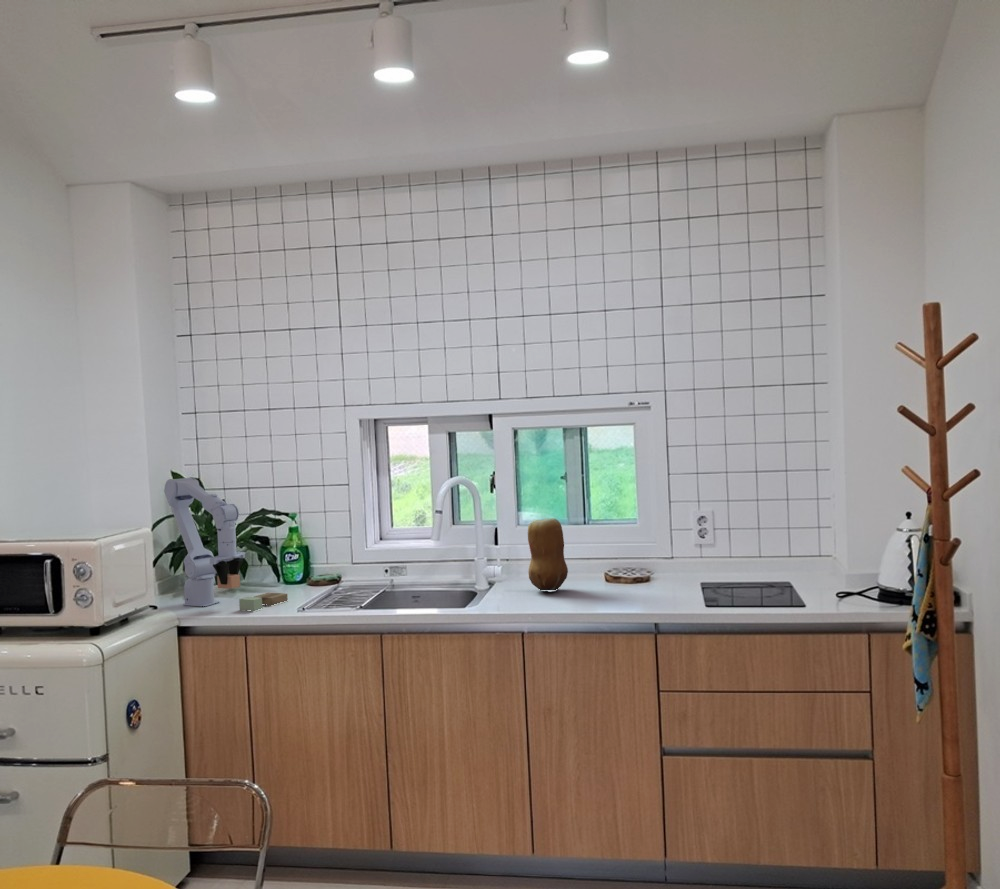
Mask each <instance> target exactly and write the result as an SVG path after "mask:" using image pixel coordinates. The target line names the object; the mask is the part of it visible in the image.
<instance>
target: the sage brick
mask: <svg viewBox="0 0 1000 889" xmlns="http://www.w3.org/2000/svg"><path fill="white" fill-rule="evenodd" d="M238 601H239V602H238V603H239V604H238V606H239V611H240V610H251V611H255V610H258V609H261V608H262V609H263V605H262V598H259V597H254V596H245V597H243V598H239V599H238Z"/></svg>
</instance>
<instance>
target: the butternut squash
mask: <svg viewBox="0 0 1000 889" xmlns="http://www.w3.org/2000/svg"><path fill="white" fill-rule="evenodd" d="M564 541H565V540H564V531H563V527H562V525H561V523H560V521H559V520H558V519H556V518H544V519H535V520H533V521H531V522H530V523H529V524H528V526H527V542H528V547H529V551H530V556H531V557H530V562H529V567H528V579H529V581H530V582H531V584H532V585H533V586H534V587H535V588H537V589H538V590H539V589H540V590H539V591H541V590H556V589H558V588H559V587H560V588H561V586H562V585H563V583H564V582H565V581H566V579H567V578H568V572H569V568H568V564H567V563H566V560H565V554H564V552H565V542H564ZM560 588H559V589H560ZM559 589H558V590H559Z"/></svg>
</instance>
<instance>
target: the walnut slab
mask: <svg viewBox="0 0 1000 889" xmlns="http://www.w3.org/2000/svg"><path fill="white" fill-rule="evenodd" d="M253 597H259V598H262V604H267V605H274V604H277V603H280V602H284V601H287V600H288V593H284V592H282V593H281V592H280V593H279V592H265V593H262V594H258V595H255V596H253ZM287 602H288V601H287ZM284 603H285V602H284ZM274 606H275V605H274Z"/></svg>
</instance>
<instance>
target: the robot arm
mask: <svg viewBox="0 0 1000 889" xmlns="http://www.w3.org/2000/svg"><path fill="white" fill-rule="evenodd" d="M163 492H164V494H165V495H164V496H165V498H166V500H167V503H168V505H169V506H170V507H171V512H172V513H173V516H174V520H175V522H176V525H177V528H178V530H179V533H180V534H181V538H182V540H183V543H184V546H185V548H186V550H187V555H185V557H184V558H183V565H184V572H185V574H186V576H187V577H188V578H187V579H186V580H185V583H184V586H183V592H184V603H182V604H183V606H190V607H191V606H192V607H202V606H203V607H204V606H205V607H208V606H212V605H215V603H216V604H219V603H221V600H215V586H214V585H215V584H214V578H215V577H216V574H217V576H219V579H220V583H221V584H227V579H228V574H237V575H239V573H240V569H241V566H242V565H243V563H244V560H243V559H245V558H246V552H245V551H238V552H237V534H236V533H237V532H236V521H238V519H239V516H240V515H239V512H240V511H239V509H238V507H237V506H236V505H235V504H234V503H230V504H229V503H227V502H226V501H225V500H222V499H221V498H220V497H219V496H218V494H216V493H211V494H210V493H208V492H207V490H205V489H204V488H203V487H202V486H201V485H200V482H199V480H198V479H196V478H195V477H194V476H192V477H191V476H190V477H184V478H174V479H173V478H168V479H167V480H166V482H165V485H164V489H163ZM194 499H196V500H197V501H198V502H200V503H201V506H202V508H203V509H204V510H205V511H207V513H209V514H211V515H212V519H213V521H214V524H215V528H216V531H217V551H218V555H216V556H214V554H213V552H212V551H211V550H210V549H208V548H206V547H204V545H203V542H202V538H201V537H200V534H199V531H198V529H197V526H196V524H195V521H194V519H193V516H192V512H191V511H190V507H189V506H190V505H192V504H193V502H194ZM218 602H219V603H218Z"/></svg>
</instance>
